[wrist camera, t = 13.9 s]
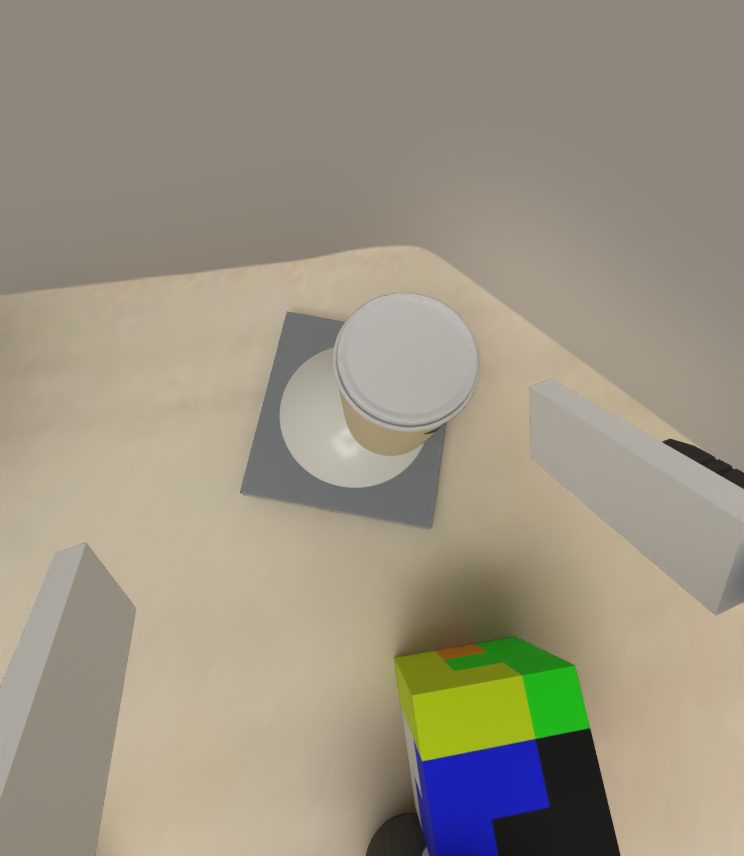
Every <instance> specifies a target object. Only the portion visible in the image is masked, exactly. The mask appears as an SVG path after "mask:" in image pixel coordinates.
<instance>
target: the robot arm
mask: <svg viewBox="0 0 744 856" xmlns="http://www.w3.org/2000/svg"><path fill="white" fill-rule="evenodd" d="M530 435H531V458H532V459H533V460H534V461H535V462H536V463H537V464H539V465H540V466H541V467H542V468H543V469H544V470H546V471H547V472H548V473H549V474H550V475H551V476H553V477H554V478H555V479H556V480H557V481H558V482H560V483H561V484H562V485H563V486H564V487H565V488H567V489H568V490H569V491H570V492H571V493H572V494H574V495H575V496H576V497H577V498H578V499H579V500H581V501H582V502H583V503H584V504H585V505H586V506H588V507H589V508H590V509H591V510H592V511H593V512H595V513H596V514H597V515H598V516H599V517H600V518H602V519H603V520H604V521H605V522H606V523H607V524H609V525H610V526H611V527H612V528H613V529H615V530H616V531H617V532H618V533H619V534H620V535H622V536H623V537H624V538H625V539H626V540H627V541H629V542H630V543H631V544H632V545H633V546H634V547H636V548H637V549H638V550H639V551H640V552H641V553H643V554H644V555H645V556H646V557H647V558H648V559H650V560H651V561H652V562H653V563H654V564H655V565H657V566H658V567H659V568H660V569H661V570H662V571H664V572H665V573H666V574H667V575H668V576H669V577H671V578H672V579H673V580H674V581H675V582H676V583H678V584H679V585H680V586H681V587H682V588H683V589H685V590H686V591H687V592H688V593H689V594H690V595H692V596H693V597H694V598H695V599H696V600H697V601H699V602H700V603H701V604H702V605H703V606H705V607H706V608H707V609H708V610H709V611H710V612H712V613H713V614H714V615H715V616H716V615H718V614H720V613H722V612H724V611H726V610H728V609H730V608H732V607H734V606H736V605H738V604H740V603H743V602H744V473H743V472H742V471H740V470H737V469H733V468H732V466H730V465H729V464H727V463H725V462H723V461H721V460H716V459H715V457H714V456H712V455H710V454H708V453H707V452H705V451H703V450H701V449H699V448H697V447H696V446H693V445H690V444H686V443H683V442H679V441H676V440H673V439H668V440H665V441H663V442H661V441H659V440H657V439H655V438H654V437H652V436H650V435H648V434H647V433H645V432H643V431H641V430H640V429H638V428H636V427H635V426H633V425H631V424H629V423H628V422H626V421H624V420H622V419H621V418H619V417H617V416H615V415H614V414H612V413H610V412H608V411H607V410H605V409H603V408H601V407H600V406H598V405H596V404H594V403H593V402H591V401H589V400H588V399H586V398H584V397H582V396H581V395H579V394H577V393H575V392H574V391H572V390H570V389H568V388H567V387H565V386H563V385H561V384H560V383H558V382H556V381H554V380H553V379H550V380H547V381H544V382H541V383H538V384H536V385H533V386H530ZM135 613H136V607H135V606H134V605H133V603H132V602H131V601H130V599H129V598H128V597H127V595H126V594H125V593H124V591H123V590H122V589H121V587H120V586H119V585H118V583H117V582H116V581H115V580H114V578H113V577H112V576H111V574H110V573H109V572H108V570H107V569H106V568H105V566H104V565H103V564H102V562H101V561H100V560H99V558H98V557H97V556H96V554H95V553H94V552H93V551H92V549H91V548H90V547H89V545H88V544H87V543H83V544H80V545H77V546H74V547H71V548H69V549H66V550H63V551H60V552H57V553H55V555H54V557H53V560H52V562H51V565H50V567H49V570H48V572H47V575H46V577H45V580H44V582H43V584H42V587H41V589H40V592H39V594H38V597H37V599H36V602H35V604H34V606H33V609H32V611H31V614H30V616H29V619H28V621H27V624H26V626H25V628H24V631H23V633H22V636H21V638H20V641H19V643H18V646H17V648H16V651H15V653H14V655H13V658H12V660H11V663H10V665H9V668H8V670H7V673H6V675H5V677H4V680H3V682H2V685H1V687H0V856H95V853H96V847H97V841H98V835H99V829H100V823H101V817H102V811H103V805H104V799H105V793H106V787H107V781H108V775H109V769H110V763H111V757H112V751H113V745H114V739H115V733H116V727H117V721H118V715H119V709H120V703H121V697H122V691H123V685H124V679H125V673H126V667H127V661H128V655H129V649H130V643H131V637H132V631H133V625H134V619H135Z"/></svg>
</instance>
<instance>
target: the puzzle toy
mask: <svg viewBox="0 0 744 856" xmlns="http://www.w3.org/2000/svg"><path fill="white" fill-rule="evenodd" d="M394 662H395V669H396V676H397V683H398V690H399V697H400V704H401V711H402V718H403V725H404V732H405V739H406V746H407V753H408V760H409V767H410V774H411V781H412V788H413V795H414V802H415V807H416V811H417V814H418V818H419V821H420V825H421V828H422V832H423V836H424V839H425V843H426V846H427V850H428V853H429V856H620V851H619V847H618V843H617V839H616V835H615V830H614V826H613V822H612V818H611V814H610V809H609V805H608V801H607V797H606V793H605V789H604V784H603V780H602V776H601V772H600V768H599V763H598V759H597V755H596V751H595V747H594V742H593V738H592V734H591V730H590V726H589V721H588V717H587V713H586V709H585V705H584V700H583V696H582V692H581V688H580V684H579V679H578V675H577V671H576V667H575V665H573V664H571V663H569V662H567V661H564V660H562V659H560V658H558V657H556V656H554V655H552V654H550V653H548V652H546V651H544V650H542V649H539V648H537V647H535V646H533V645H531V644H529V643H527V642H525V641H523V640H521V639H519V638H516V637H510V638H505V639H499V640H493V641H487V642H482V643H476V644H470V645H464V646H459V647H453V648H447V649H441V650H436V651H430V652H424V653H418V654H413V655H407V656H401V657H395V658H394Z"/></svg>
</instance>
